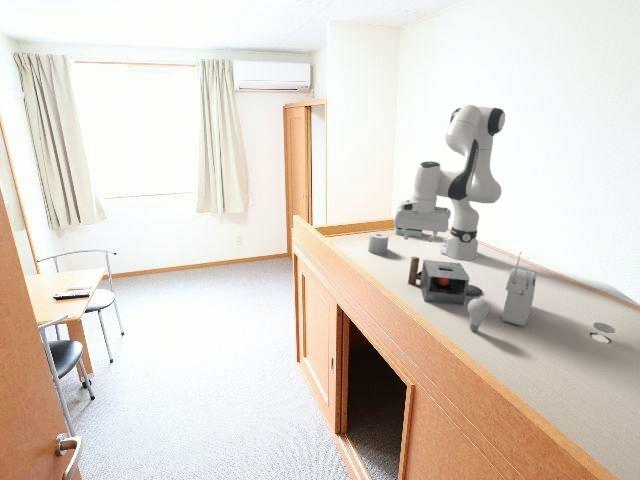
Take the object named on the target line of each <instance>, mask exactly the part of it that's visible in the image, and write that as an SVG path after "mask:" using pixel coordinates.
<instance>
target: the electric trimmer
mask: <svg viewBox="0 0 640 480" xmlns="http://www.w3.org/2000/svg"><path fill="white" fill-rule="evenodd" d="M421 273H422V270H421V271H418V272H417V278H416V280H417V281H418V280H419V281H420V280H421Z"/></svg>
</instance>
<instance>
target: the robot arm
mask: <svg viewBox="0 0 640 480" xmlns="http://www.w3.org/2000/svg"><path fill="white" fill-rule="evenodd" d="M449 121H450V123H449V125H448V127H447V130H446V132H445V136H444V137H445V142H446V145H447V146H448V147H449V149H451V150H452V151H453V152H455V153H458V154H460V155H461V156H463V157H464V158H463V162H462V166H461V170H460V171H457V172H454V171H446V170H442V169H441V164H440V163H439V162H436V161H423V162H421V163H419V165H418V168H417V170H416V174H415V179H414V184H413V186H414V192H413V195H412V198H411V199H407V200H402V201H400V202H399V204H398V205H399V206H398V207H400V208H399V209H398V208H397V209H396V211H395V215H394V219H393V226H394V228H395V227H396V228H402V231H403V233H404V235H403V240H409V236H408V234H406V233H405V231H406V229H416V230H422V231H425V232H426V231H428V232H429V231H430V232H432V235H431V236H428V240H427V241H428V242H429V243H433V242H434V238H436V237H437V235H438V232H439V233H446V232H447V231H448V230H449V220H450V218H451V214H452V212H451V210H450V209H449V208H448V207H441V206H437V199H438V197H443V198H449V200H450V201H451V202H452V205H453V208H454V209H453V210H454V217H453V225H452V226H451V229H450V234H449V235H448V236H446V238H443V239H442V240H443V241H442V243H441V244H440V252H439V253H440V254H441V255H445V256H448V257H450V258H453V259H458V260H461V261H463V260H465V261H470V260H471V261H472V260H474V259H478V258H480V254H479V253H478V248H479V247H478V246H479V241H478V239H477V235H478V225H479V220H480V215H479V212H478V211H477V210H476V209H474V208H473V207H472V206H471V204H470V202H472V203H473V202H474V203H480V204H495V203H496V202H498V201H499V200H500V198H501V195H502V187H501V184H500V183H499V182H498V181H497V180H496V179H495V177H494V176H493V174H492V171H491V156H492V150H493V145H494V144H493V143H494V136H495V135H497V134H499V133H500V132H501V131H502V130H503V128H504V125H505V123H506V112H504V109H502V108H498V107H487V106H476V105H473V104H468V105H464V106H462V107H459V108H455V110H454V111H453V112H452V114H451V116H450V120H449ZM437 196H438V197H437Z"/></svg>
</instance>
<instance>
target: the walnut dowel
mask: <svg viewBox="0 0 640 480" xmlns="http://www.w3.org/2000/svg"><path fill="white" fill-rule="evenodd" d="M419 264H420V258H419V257H418V256H411V260H410V267H409V273H408V275H409V276H408V281H407V283H408V285H410V284H411V286H416V283H417V279H416V278H417V274H418V273H419V271H418V270H419V266H420V265H419Z"/></svg>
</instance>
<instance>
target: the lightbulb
mask: <svg viewBox="0 0 640 480" xmlns="http://www.w3.org/2000/svg"><path fill="white" fill-rule="evenodd" d="M467 311H468V313H469V318H470V319H469V323H470V324H469V329H470V330H471V331H473V332H476V331H479V327H480V325H481V324H482V321H483V320H484V319H485V318H486V317H487V315H488V314H489V312H490V306H489V303H488V302H487V301H486V300H484V299H482V298H480V297H479V298H473V299H471V300H470V301H469V302H468V304H467Z"/></svg>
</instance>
